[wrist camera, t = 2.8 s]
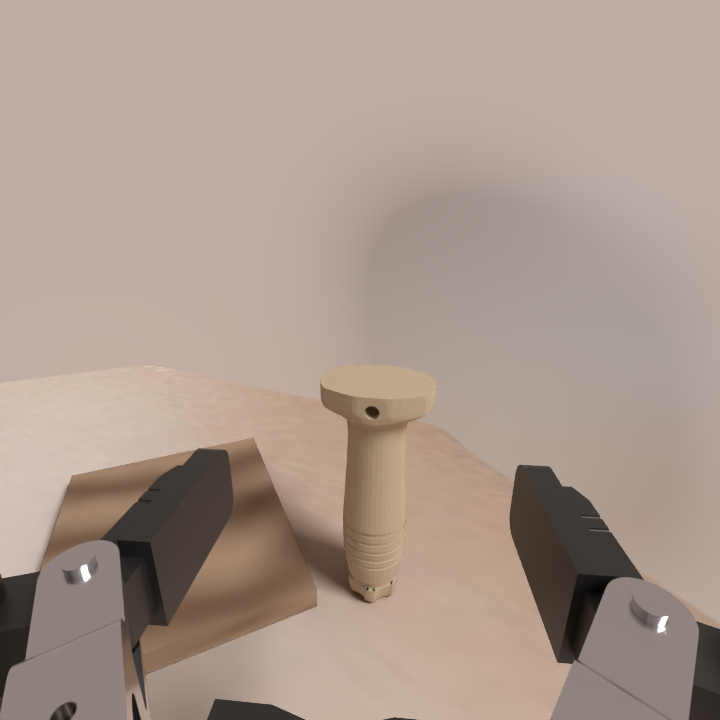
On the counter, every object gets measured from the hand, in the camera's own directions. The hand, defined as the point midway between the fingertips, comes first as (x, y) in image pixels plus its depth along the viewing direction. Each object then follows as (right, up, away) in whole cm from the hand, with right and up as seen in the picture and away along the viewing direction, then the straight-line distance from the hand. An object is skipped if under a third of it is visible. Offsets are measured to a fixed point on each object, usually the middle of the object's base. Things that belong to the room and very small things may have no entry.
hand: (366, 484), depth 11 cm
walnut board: (-14, -10, +20) cm, 27 cm away
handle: (+1, -12, +16) cm, 20 cm away
